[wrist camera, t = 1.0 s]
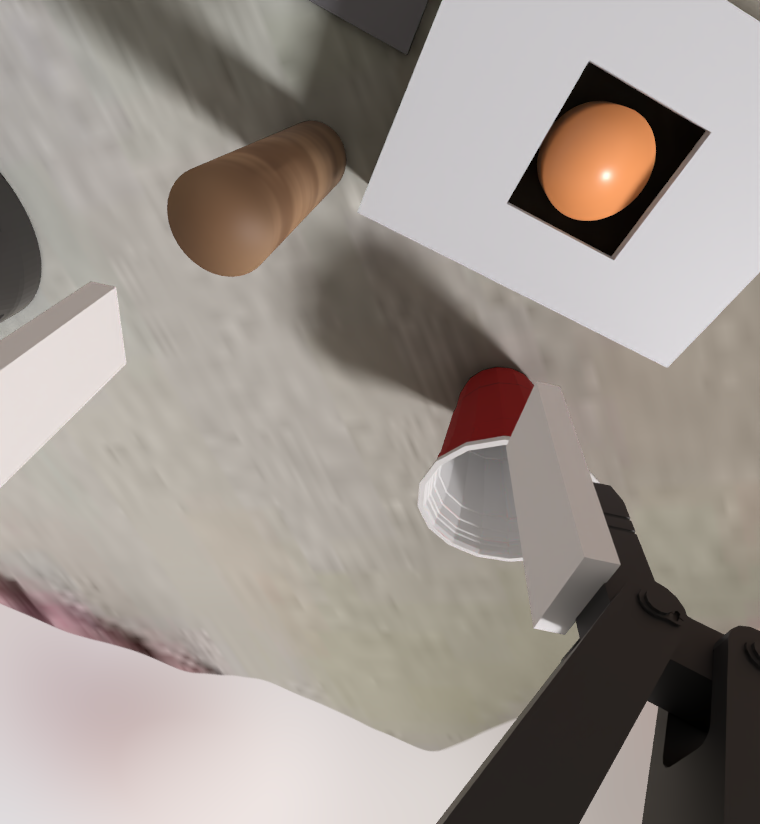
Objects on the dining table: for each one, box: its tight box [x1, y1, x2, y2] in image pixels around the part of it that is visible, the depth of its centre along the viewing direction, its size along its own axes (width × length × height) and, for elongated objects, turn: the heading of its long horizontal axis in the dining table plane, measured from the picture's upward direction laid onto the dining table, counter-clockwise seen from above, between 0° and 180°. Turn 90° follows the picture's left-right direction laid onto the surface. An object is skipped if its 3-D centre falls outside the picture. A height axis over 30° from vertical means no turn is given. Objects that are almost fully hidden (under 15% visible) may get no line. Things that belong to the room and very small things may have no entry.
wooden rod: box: [167, 121, 346, 277], centre depth 25 cm, size 4×4×15 cm
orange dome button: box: [537, 101, 656, 221], centre depth 26 cm, size 5×5×2 cm
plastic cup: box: [418, 367, 599, 562], centre depth 34 cm, size 11×11×12 cm
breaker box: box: [357, 0, 760, 367], centre depth 26 cm, size 20×14×6 cm
